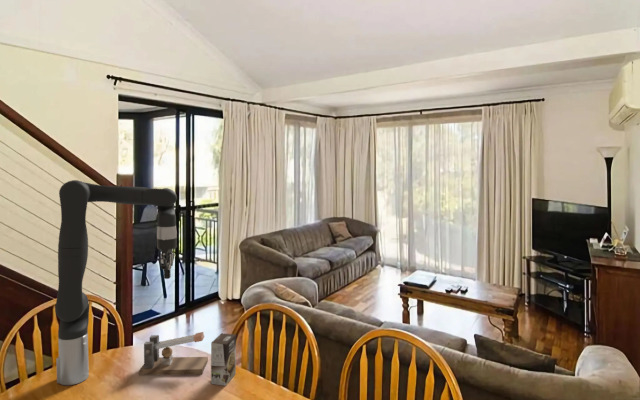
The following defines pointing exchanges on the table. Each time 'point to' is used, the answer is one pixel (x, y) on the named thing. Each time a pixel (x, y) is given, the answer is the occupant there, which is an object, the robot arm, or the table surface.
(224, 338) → the coffee box
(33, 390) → the table surface
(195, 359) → the press base
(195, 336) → the lever
